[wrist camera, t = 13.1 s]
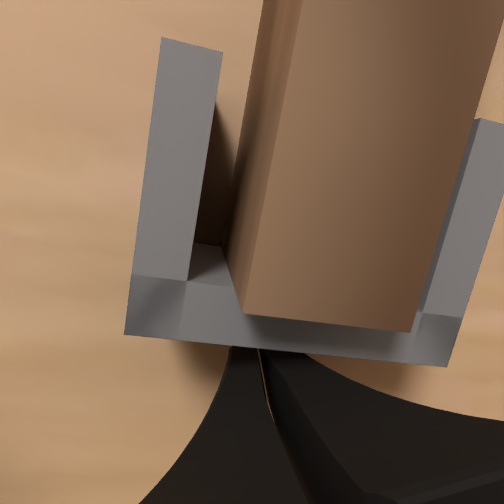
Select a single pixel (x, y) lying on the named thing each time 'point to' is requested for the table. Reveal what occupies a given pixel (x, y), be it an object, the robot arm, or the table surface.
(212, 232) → the table surface
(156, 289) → the gray u-shaped clamp
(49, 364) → the table surface
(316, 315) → the slat
